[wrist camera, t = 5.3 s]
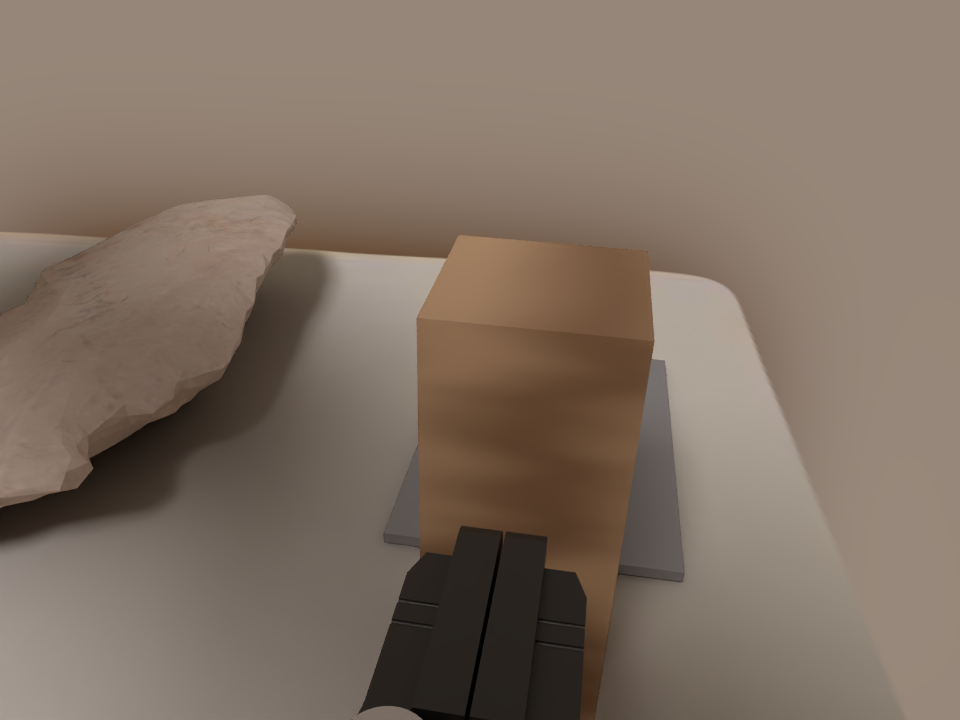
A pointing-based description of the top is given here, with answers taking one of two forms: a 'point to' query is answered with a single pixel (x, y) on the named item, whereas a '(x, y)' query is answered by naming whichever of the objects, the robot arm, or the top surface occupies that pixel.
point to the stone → (127, 335)
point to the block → (536, 407)
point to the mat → (651, 501)
